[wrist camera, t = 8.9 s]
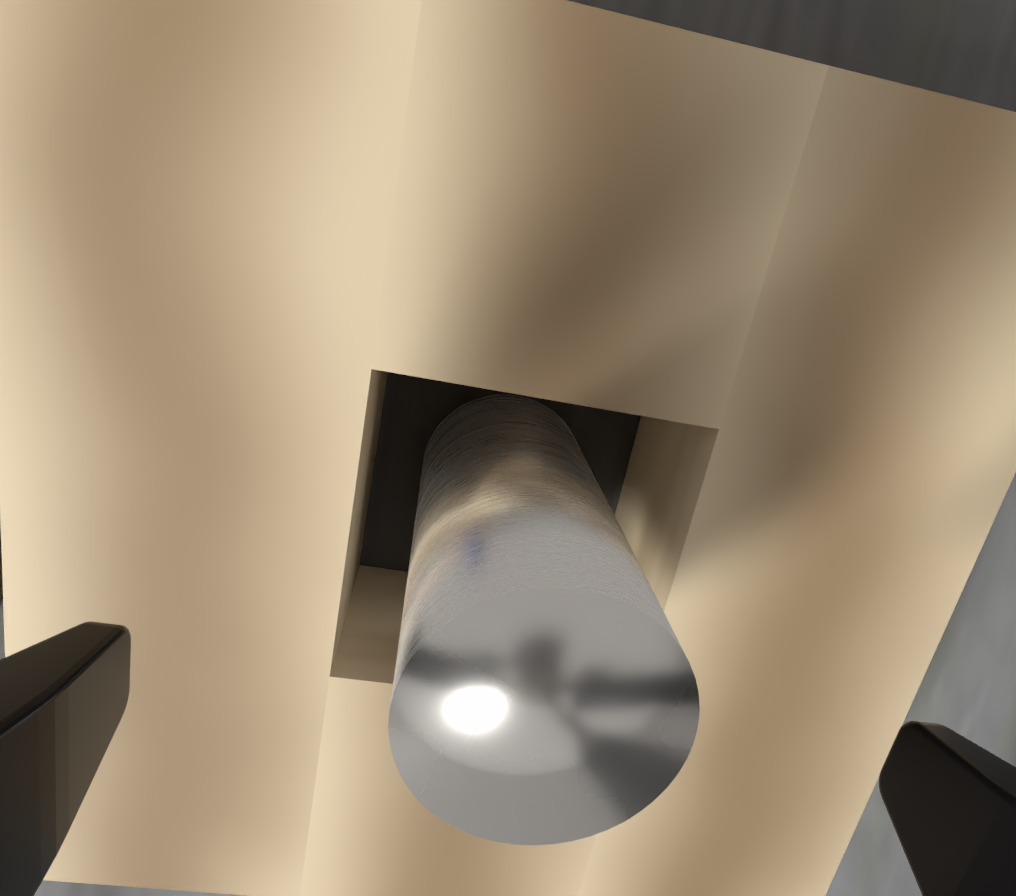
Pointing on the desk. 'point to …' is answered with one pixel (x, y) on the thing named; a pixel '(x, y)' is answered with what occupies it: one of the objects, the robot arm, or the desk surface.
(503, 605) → the long pin
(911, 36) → the desk surface
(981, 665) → the desk surface
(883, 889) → the desk surface
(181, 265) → the bore block
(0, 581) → the gold rounded piece
